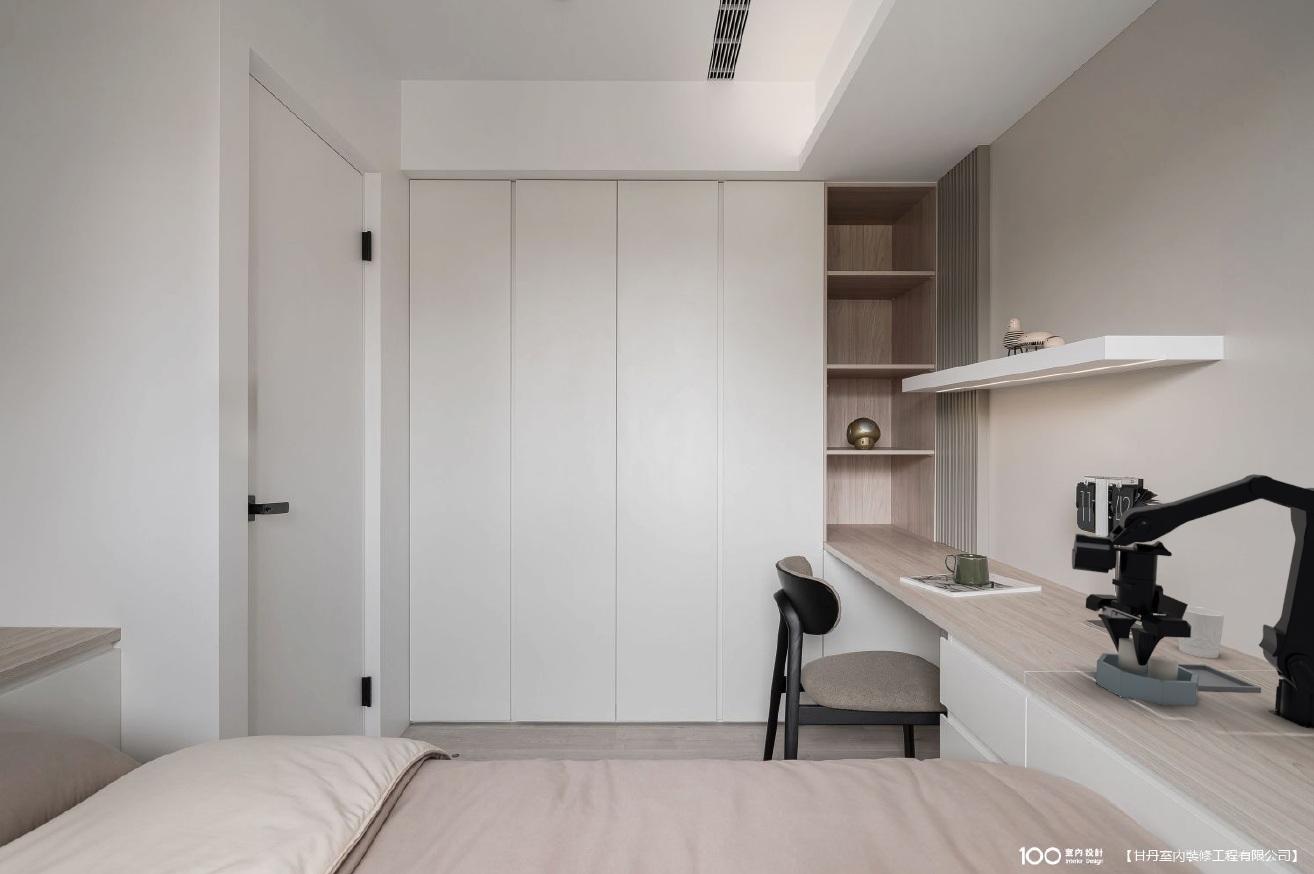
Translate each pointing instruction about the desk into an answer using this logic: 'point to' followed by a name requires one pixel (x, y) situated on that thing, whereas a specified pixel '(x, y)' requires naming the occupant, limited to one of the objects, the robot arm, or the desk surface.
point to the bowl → (1146, 683)
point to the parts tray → (1219, 680)
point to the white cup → (1202, 632)
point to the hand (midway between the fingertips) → (1132, 660)
